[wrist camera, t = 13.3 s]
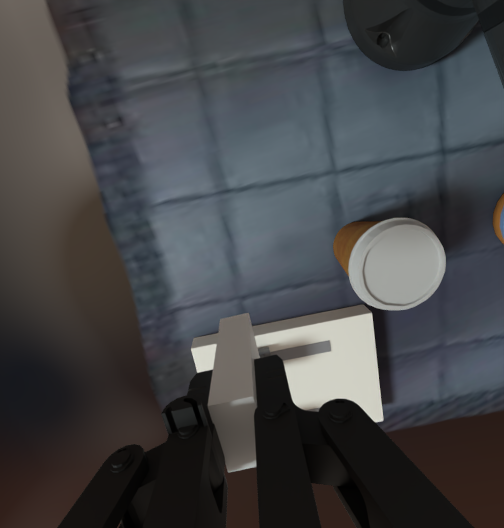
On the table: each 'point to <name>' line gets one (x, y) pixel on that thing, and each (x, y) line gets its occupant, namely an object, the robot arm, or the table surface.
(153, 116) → the table surface
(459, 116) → the table surface
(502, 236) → the doughnut
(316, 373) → the panel
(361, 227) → the disposable coffee cup
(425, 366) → the table surface
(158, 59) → the table surface
